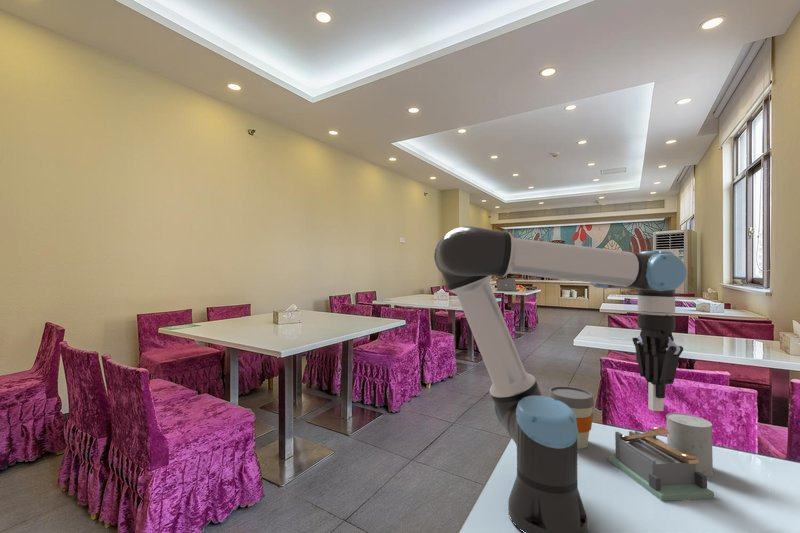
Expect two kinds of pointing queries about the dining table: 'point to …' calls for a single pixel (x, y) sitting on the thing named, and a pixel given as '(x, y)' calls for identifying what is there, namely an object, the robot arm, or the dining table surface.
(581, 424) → the reusable coffee cup
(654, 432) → the strap
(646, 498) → the dining table surface
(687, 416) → the gray concrete cylinder
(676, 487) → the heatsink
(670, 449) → the strap
